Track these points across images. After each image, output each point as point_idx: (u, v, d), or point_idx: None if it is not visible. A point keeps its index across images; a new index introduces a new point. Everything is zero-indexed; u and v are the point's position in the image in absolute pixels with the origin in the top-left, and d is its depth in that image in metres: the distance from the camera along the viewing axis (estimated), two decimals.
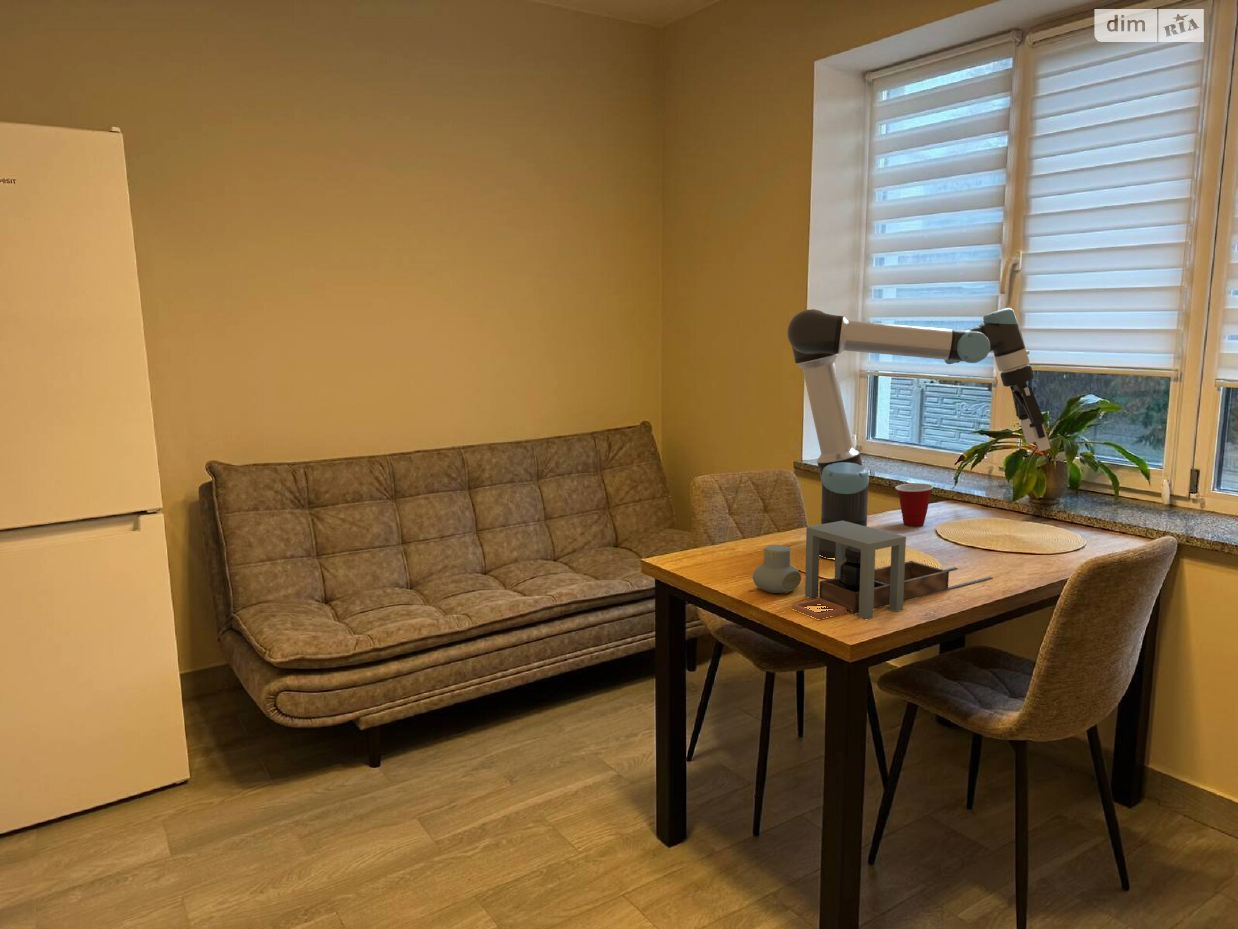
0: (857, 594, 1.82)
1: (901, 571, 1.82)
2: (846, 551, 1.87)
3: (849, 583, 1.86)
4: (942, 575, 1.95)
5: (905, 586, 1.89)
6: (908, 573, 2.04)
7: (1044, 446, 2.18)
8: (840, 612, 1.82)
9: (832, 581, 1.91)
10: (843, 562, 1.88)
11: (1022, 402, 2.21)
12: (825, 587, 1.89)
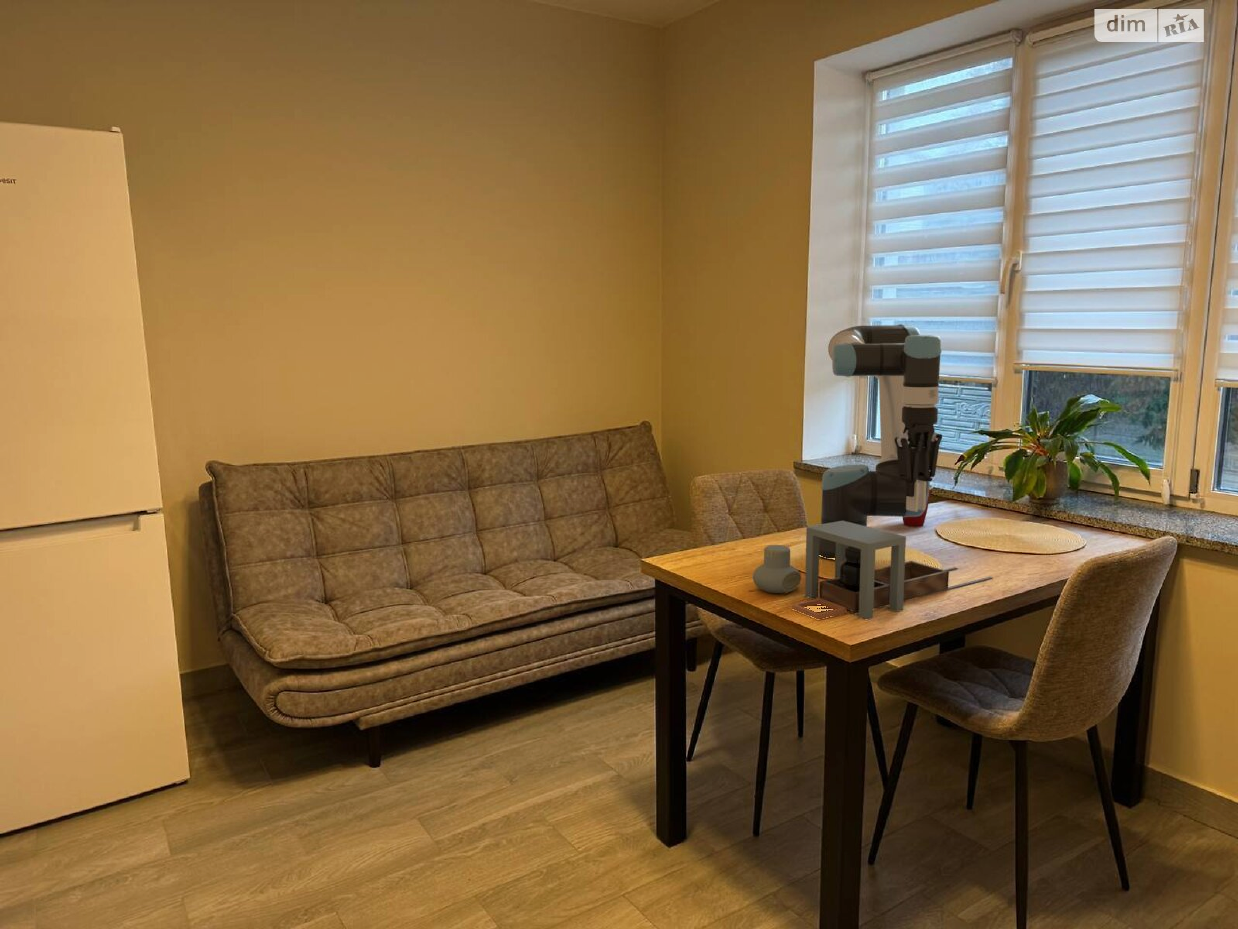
0: (857, 594, 1.82)
1: (901, 571, 1.82)
2: (846, 551, 1.87)
3: (849, 583, 1.86)
4: (942, 575, 1.95)
5: (905, 586, 1.89)
6: (908, 573, 2.04)
7: (911, 506, 1.95)
8: (840, 612, 1.82)
9: (832, 581, 1.91)
10: (843, 562, 1.88)
11: None
12: (825, 587, 1.89)
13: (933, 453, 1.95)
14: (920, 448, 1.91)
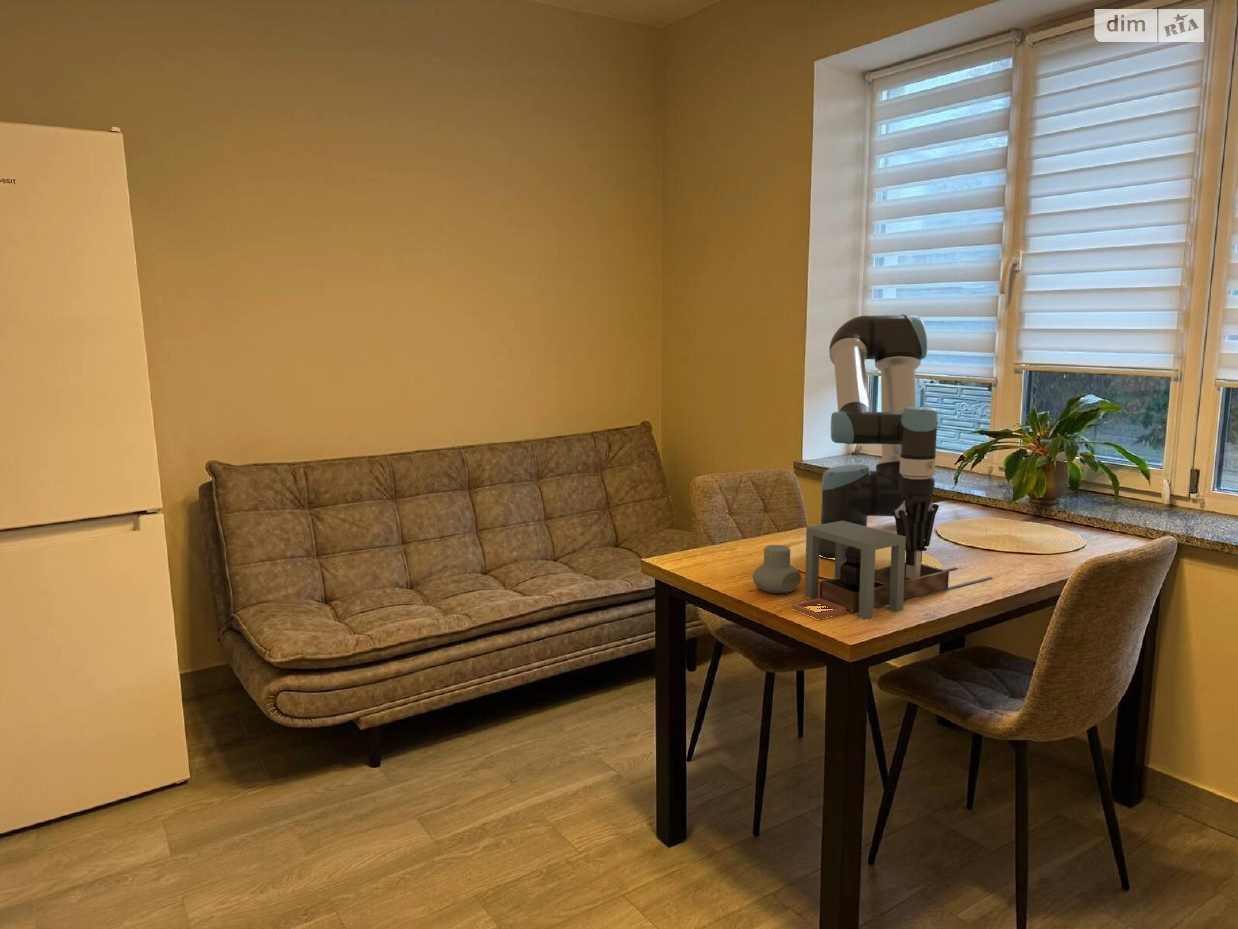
0: (857, 594, 1.82)
1: (901, 571, 1.82)
2: (846, 551, 1.87)
3: (849, 583, 1.86)
4: (942, 575, 1.95)
5: (905, 586, 1.89)
6: None
7: (911, 575, 1.97)
8: (840, 612, 1.82)
9: (832, 581, 1.91)
10: (843, 562, 1.88)
11: None
12: (825, 587, 1.89)
13: (929, 523, 1.97)
14: (918, 518, 1.94)
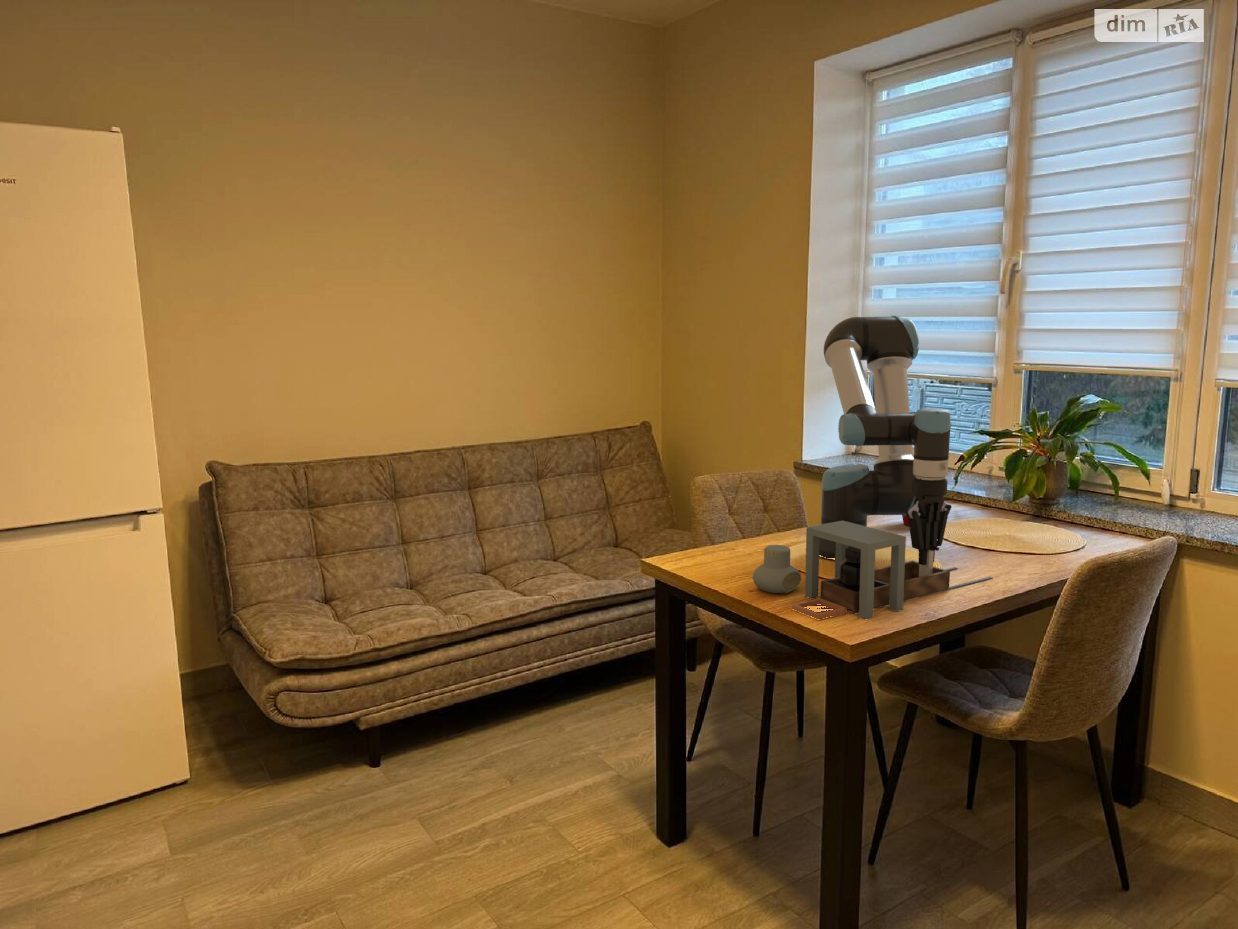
0: (858, 594, 1.82)
1: (901, 571, 1.82)
2: (846, 551, 1.87)
3: (849, 583, 1.86)
4: (943, 574, 1.96)
5: (906, 586, 1.89)
6: (909, 573, 2.04)
7: (923, 574, 2.00)
8: (840, 612, 1.82)
9: (833, 581, 1.91)
10: (843, 562, 1.88)
11: None
12: (826, 587, 1.89)
13: (941, 523, 2.00)
14: (931, 518, 1.96)
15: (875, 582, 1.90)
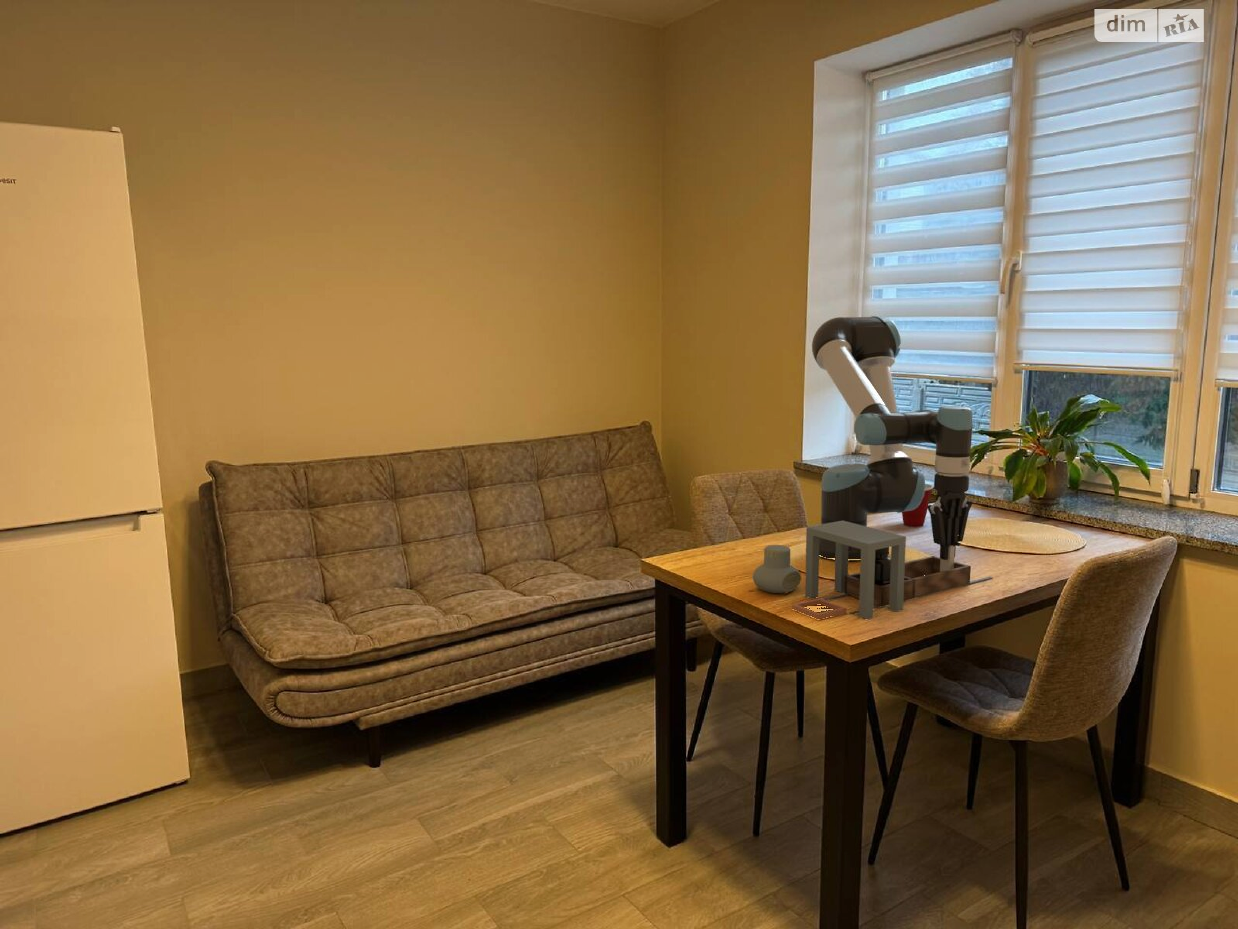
0: (883, 588, 1.86)
1: (901, 571, 1.82)
2: None
3: None
4: (964, 569, 1.99)
5: (929, 580, 1.93)
6: (930, 568, 2.08)
7: (945, 569, 2.04)
8: (840, 612, 1.82)
9: (857, 575, 1.95)
10: None
11: None
12: (850, 581, 1.93)
13: (962, 519, 2.03)
14: (952, 514, 2.00)
15: None
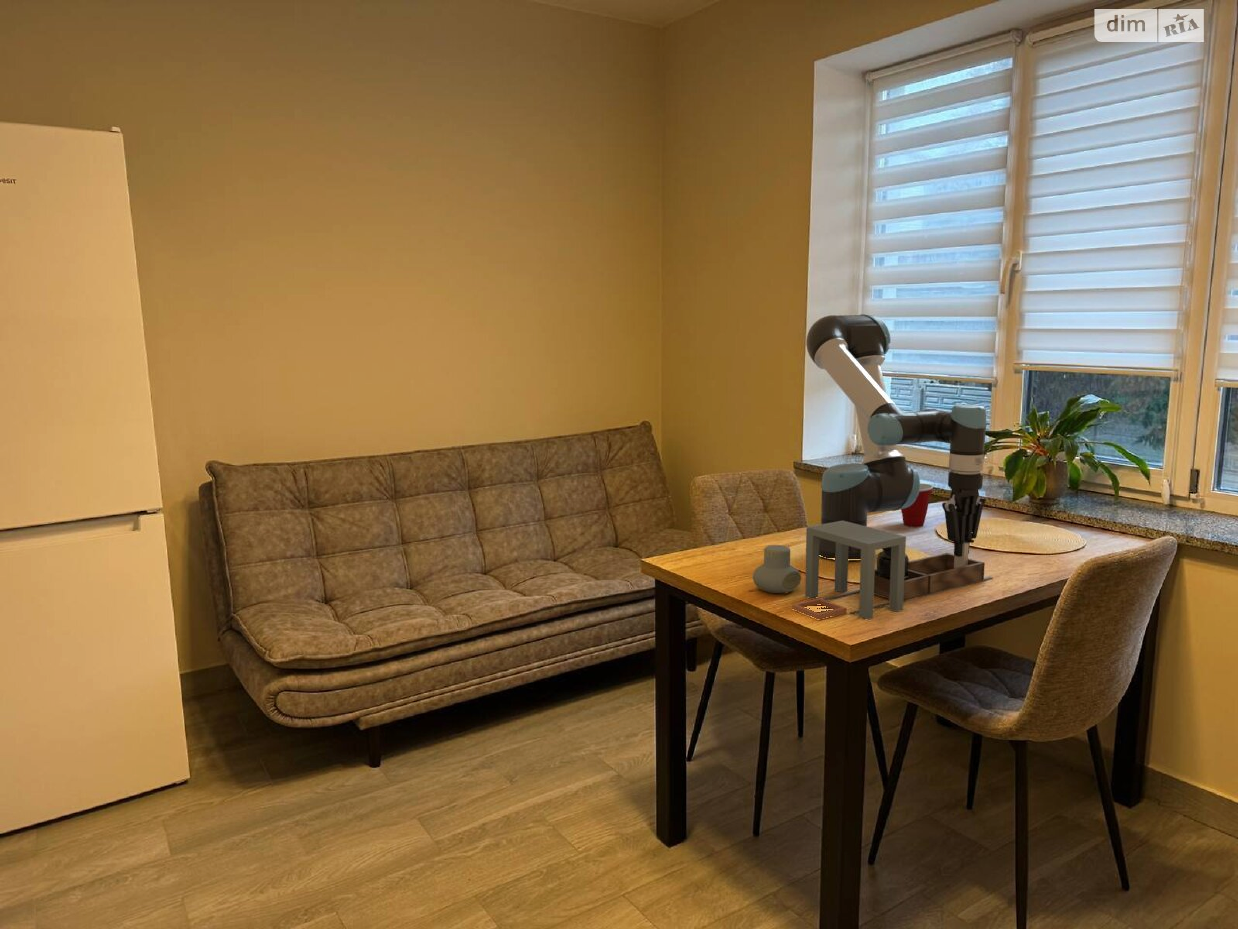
0: None
1: (901, 571, 1.82)
2: None
3: (886, 574, 1.92)
4: (978, 566, 2.02)
5: (944, 577, 1.96)
6: (944, 565, 2.11)
7: (959, 565, 2.06)
8: (840, 612, 1.82)
9: None
10: (881, 554, 1.94)
11: None
12: None
13: (976, 516, 2.06)
14: (966, 511, 2.03)
15: (913, 573, 1.96)
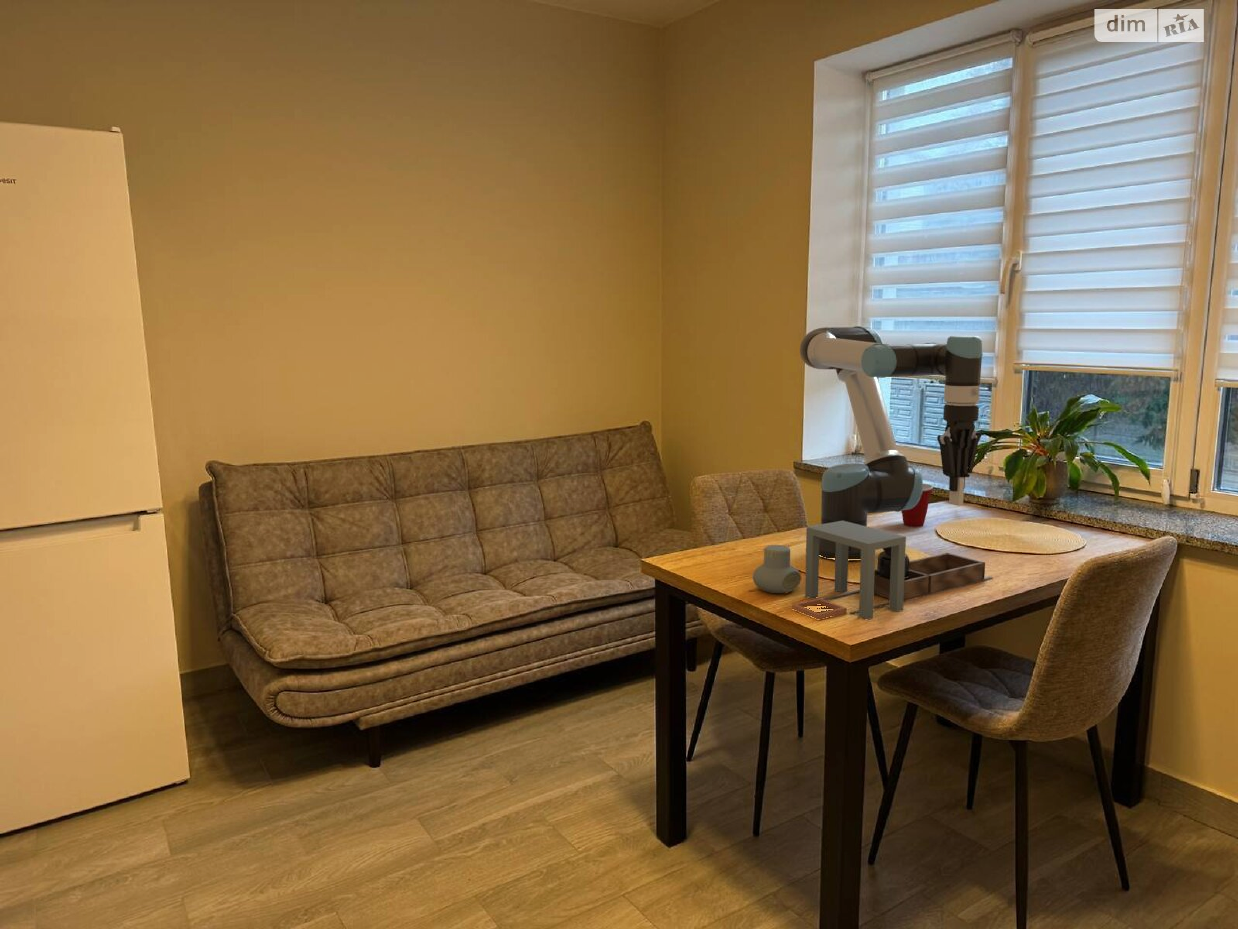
0: None
1: (901, 571, 1.82)
2: None
3: (887, 574, 1.92)
4: (979, 566, 2.02)
5: (944, 576, 1.96)
6: (944, 564, 2.11)
7: (954, 501, 2.02)
8: (840, 612, 1.82)
9: None
10: (881, 554, 1.94)
11: None
12: None
13: (972, 450, 2.02)
14: (962, 445, 1.99)
15: (914, 573, 1.96)
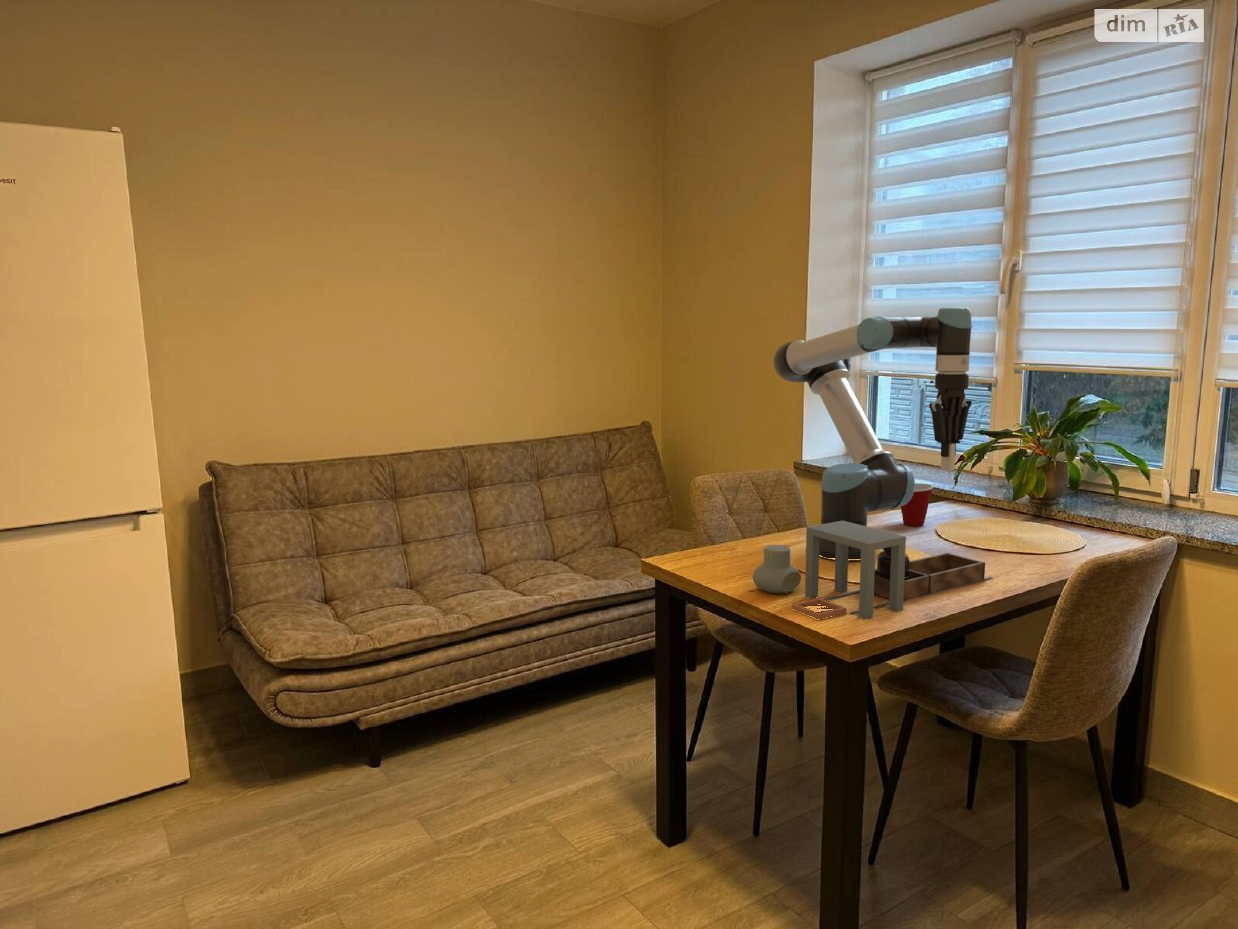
0: None
1: (901, 571, 1.82)
2: None
3: (887, 574, 1.92)
4: (979, 566, 2.02)
5: (944, 576, 1.96)
6: (944, 564, 2.11)
7: (945, 466, 2.11)
8: (840, 612, 1.82)
9: None
10: (881, 554, 1.94)
11: None
12: None
13: (962, 417, 2.11)
14: (953, 412, 2.08)
15: (914, 573, 1.96)
